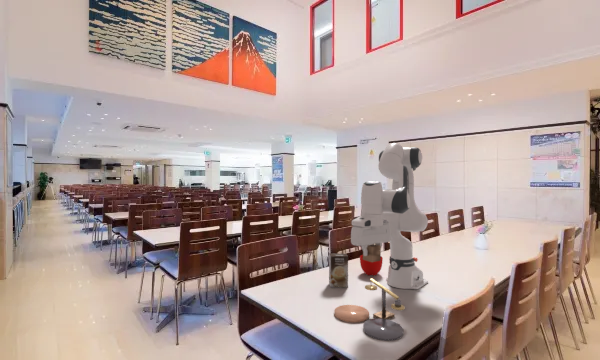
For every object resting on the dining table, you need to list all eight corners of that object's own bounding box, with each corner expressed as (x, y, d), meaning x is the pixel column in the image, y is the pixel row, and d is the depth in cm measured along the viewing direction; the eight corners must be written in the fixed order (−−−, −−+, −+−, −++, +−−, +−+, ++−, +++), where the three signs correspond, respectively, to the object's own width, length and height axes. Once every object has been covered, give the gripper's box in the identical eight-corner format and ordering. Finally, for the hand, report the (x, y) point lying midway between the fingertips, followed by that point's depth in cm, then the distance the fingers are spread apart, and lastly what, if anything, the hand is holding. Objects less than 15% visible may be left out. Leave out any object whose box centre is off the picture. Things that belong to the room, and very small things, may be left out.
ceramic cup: (379, 269, 188) (379, 252, 188) (384, 277, 171) (384, 260, 171) (358, 268, 189) (358, 252, 189) (361, 277, 172) (360, 259, 172)
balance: (372, 307, 131) (372, 275, 131) (409, 323, 116) (409, 287, 116) (360, 311, 127) (360, 278, 127) (397, 328, 112) (397, 291, 112)
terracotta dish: (351, 304, 134) (351, 302, 134) (376, 316, 122) (376, 313, 122) (327, 312, 126) (327, 310, 126) (351, 326, 114) (351, 322, 114)
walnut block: (371, 257, 128) (371, 243, 128) (380, 260, 124) (380, 245, 124) (362, 259, 125) (362, 244, 125) (372, 262, 121) (372, 247, 121)
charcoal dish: (380, 318, 121) (380, 315, 121) (411, 332, 109) (411, 329, 109) (355, 328, 113) (355, 325, 113) (385, 344, 101) (385, 341, 101)
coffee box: (330, 287, 155) (330, 256, 155) (328, 283, 162) (328, 253, 162) (348, 287, 156) (348, 256, 156) (346, 283, 162) (345, 253, 162)
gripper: (382, 218, 133) (382, 250, 133) (348, 221, 122) (348, 256, 121) (394, 220, 128) (394, 253, 128) (359, 222, 116) (359, 259, 116)
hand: (371, 254), depth 124 cm, fingers closed on walnut block, 5 cm apart
